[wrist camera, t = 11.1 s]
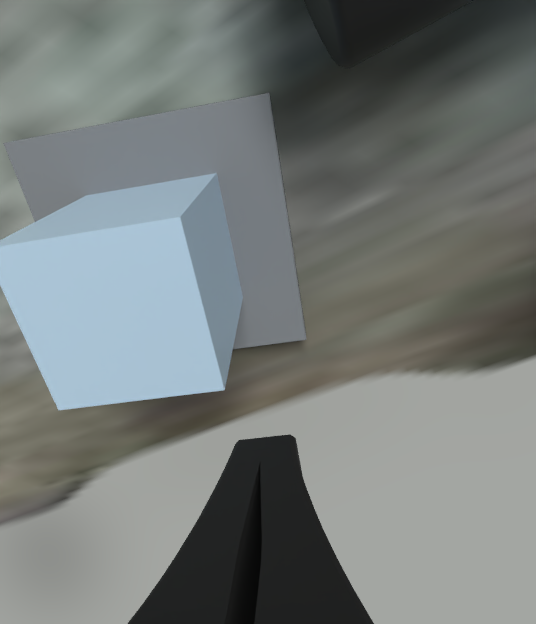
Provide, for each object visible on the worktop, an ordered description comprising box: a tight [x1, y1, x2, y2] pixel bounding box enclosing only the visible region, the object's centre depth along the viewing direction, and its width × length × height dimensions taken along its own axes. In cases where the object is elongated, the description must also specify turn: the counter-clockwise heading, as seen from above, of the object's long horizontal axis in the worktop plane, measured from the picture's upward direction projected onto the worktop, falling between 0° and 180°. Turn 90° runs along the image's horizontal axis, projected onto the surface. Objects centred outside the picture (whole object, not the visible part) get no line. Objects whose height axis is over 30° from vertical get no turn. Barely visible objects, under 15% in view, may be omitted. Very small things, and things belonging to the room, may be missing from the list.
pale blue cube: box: [0, 173, 243, 410], centre depth 15 cm, size 5×5×7 cm
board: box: [3, 93, 306, 349], centre depth 19 cm, size 10×10×1 cm
